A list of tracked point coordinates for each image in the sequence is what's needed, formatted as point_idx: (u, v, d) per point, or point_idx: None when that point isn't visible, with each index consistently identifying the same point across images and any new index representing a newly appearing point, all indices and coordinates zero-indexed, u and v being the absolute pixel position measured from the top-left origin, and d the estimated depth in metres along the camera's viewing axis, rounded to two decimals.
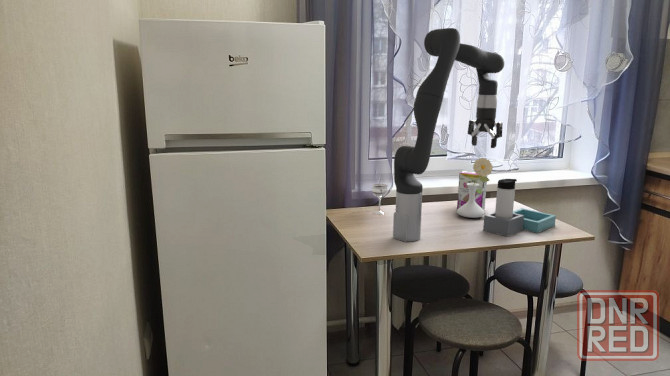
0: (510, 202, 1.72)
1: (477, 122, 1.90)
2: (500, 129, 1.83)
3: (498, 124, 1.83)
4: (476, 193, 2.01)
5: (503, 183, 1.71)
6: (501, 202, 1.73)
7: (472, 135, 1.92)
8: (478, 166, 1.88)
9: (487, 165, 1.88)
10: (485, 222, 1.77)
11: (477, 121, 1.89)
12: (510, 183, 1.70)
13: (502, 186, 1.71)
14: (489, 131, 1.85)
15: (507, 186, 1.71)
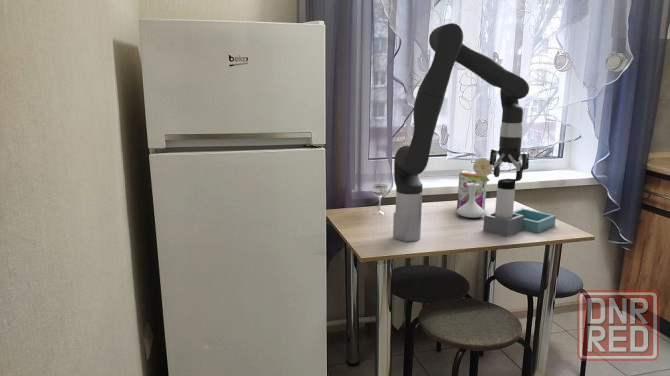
0: (510, 202, 1.72)
1: (500, 152, 1.72)
2: (526, 160, 1.66)
3: (524, 155, 1.65)
4: (476, 193, 2.01)
5: (503, 183, 1.71)
6: (501, 202, 1.73)
7: (494, 166, 1.75)
8: (478, 166, 1.88)
9: (487, 165, 1.88)
10: (485, 222, 1.77)
11: (500, 151, 1.72)
12: (510, 183, 1.70)
13: (502, 186, 1.71)
14: (514, 162, 1.68)
15: (507, 186, 1.71)
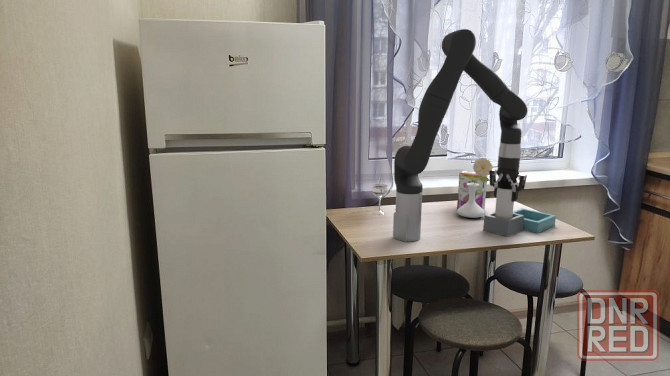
0: (510, 202, 1.72)
1: (498, 171, 1.74)
2: (523, 183, 1.68)
3: (522, 177, 1.67)
4: (476, 193, 2.01)
5: (503, 183, 1.71)
6: (501, 202, 1.73)
7: (495, 187, 1.76)
8: (478, 166, 1.88)
9: (487, 165, 1.88)
10: (485, 222, 1.77)
11: (498, 170, 1.74)
12: (510, 183, 1.70)
13: (502, 186, 1.71)
14: (511, 183, 1.70)
15: (507, 186, 1.71)
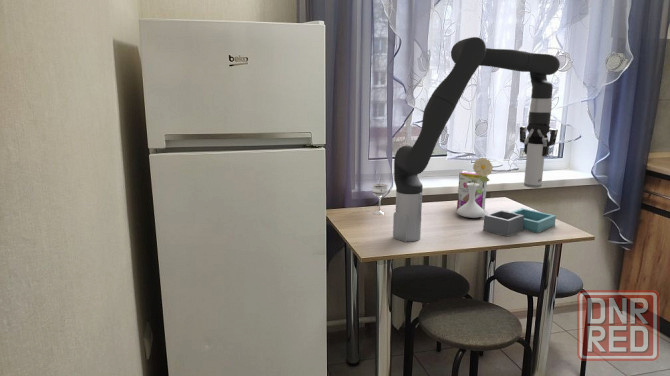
0: (541, 157, 1.75)
1: (529, 127, 1.77)
2: (554, 137, 1.71)
3: (553, 131, 1.70)
4: (476, 193, 2.01)
5: (534, 138, 1.74)
6: (532, 157, 1.76)
7: (525, 143, 1.79)
8: (478, 166, 1.88)
9: (487, 165, 1.88)
10: (485, 222, 1.77)
11: (529, 126, 1.77)
12: (541, 138, 1.73)
13: (533, 141, 1.74)
14: (542, 138, 1.73)
15: (538, 141, 1.73)
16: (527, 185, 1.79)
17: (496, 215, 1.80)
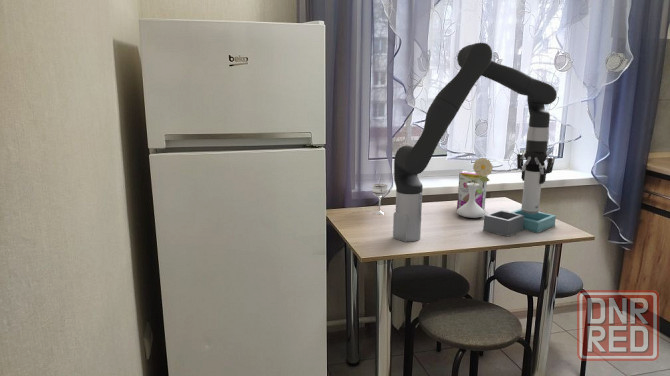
0: (538, 185, 1.77)
1: (526, 155, 1.79)
2: (551, 165, 1.73)
3: (550, 160, 1.72)
4: (476, 193, 2.01)
5: (531, 166, 1.76)
6: (529, 184, 1.78)
7: (522, 170, 1.81)
8: (478, 166, 1.88)
9: (487, 165, 1.88)
10: (485, 222, 1.77)
11: (526, 154, 1.79)
12: (538, 166, 1.76)
13: (530, 169, 1.77)
14: (539, 166, 1.75)
15: (535, 169, 1.76)
16: (524, 211, 1.81)
17: (496, 215, 1.80)
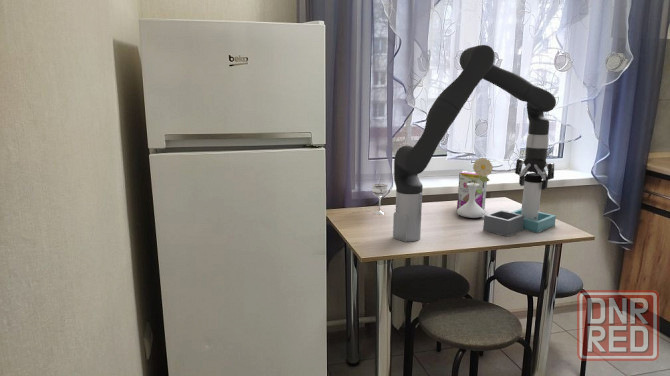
0: (537, 196, 1.78)
1: (526, 162, 1.80)
2: (552, 171, 1.74)
3: (550, 165, 1.73)
4: (476, 193, 2.01)
5: (531, 177, 1.77)
6: (528, 195, 1.79)
7: (520, 175, 1.82)
8: (478, 166, 1.88)
9: (487, 165, 1.88)
10: (485, 222, 1.77)
11: (526, 161, 1.80)
12: (538, 177, 1.77)
13: (530, 179, 1.78)
14: (540, 172, 1.76)
15: (534, 180, 1.77)
16: None
17: (496, 215, 1.80)
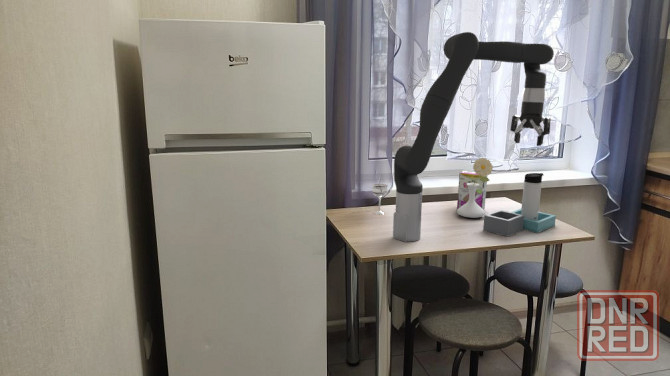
0: (537, 196, 1.78)
1: (522, 118, 1.75)
2: (548, 125, 1.69)
3: (546, 120, 1.68)
4: (476, 193, 2.01)
5: (530, 177, 1.77)
6: (528, 195, 1.79)
7: (515, 132, 1.78)
8: (478, 166, 1.88)
9: (487, 165, 1.88)
10: (485, 222, 1.77)
11: (522, 116, 1.75)
12: (537, 177, 1.77)
13: (529, 180, 1.78)
14: (535, 127, 1.71)
15: (534, 180, 1.77)
16: None
17: (496, 215, 1.80)
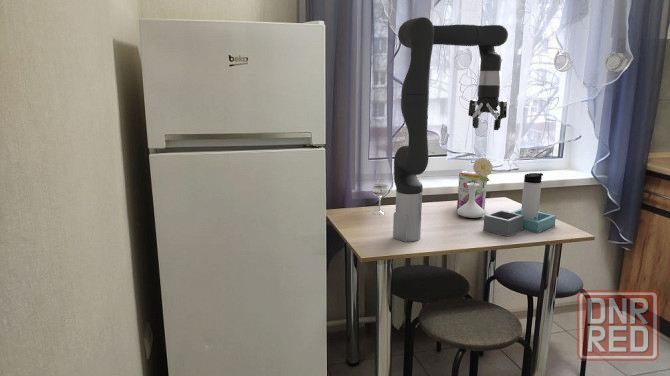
0: (537, 196, 1.78)
1: (479, 102, 1.71)
2: (504, 109, 1.65)
3: (502, 103, 1.64)
4: (476, 193, 2.01)
5: (530, 177, 1.77)
6: (528, 195, 1.79)
7: (473, 116, 1.74)
8: (478, 166, 1.88)
9: (487, 165, 1.88)
10: (485, 222, 1.77)
11: (479, 101, 1.71)
12: (537, 177, 1.76)
13: (529, 180, 1.78)
14: (492, 111, 1.67)
15: (533, 180, 1.77)
16: None
17: (496, 215, 1.80)
